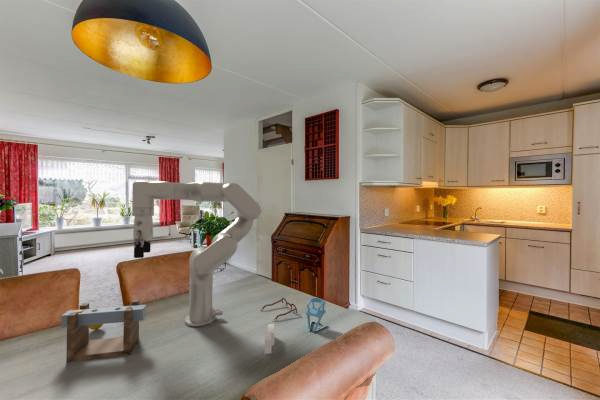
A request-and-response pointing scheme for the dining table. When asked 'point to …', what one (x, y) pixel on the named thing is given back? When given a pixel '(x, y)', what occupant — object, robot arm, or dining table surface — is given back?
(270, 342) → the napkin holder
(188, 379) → the dining table surface
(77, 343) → the rack
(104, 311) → the power strip
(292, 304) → the glasses
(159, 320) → the dining table surface
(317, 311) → the chair
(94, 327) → the lemon
